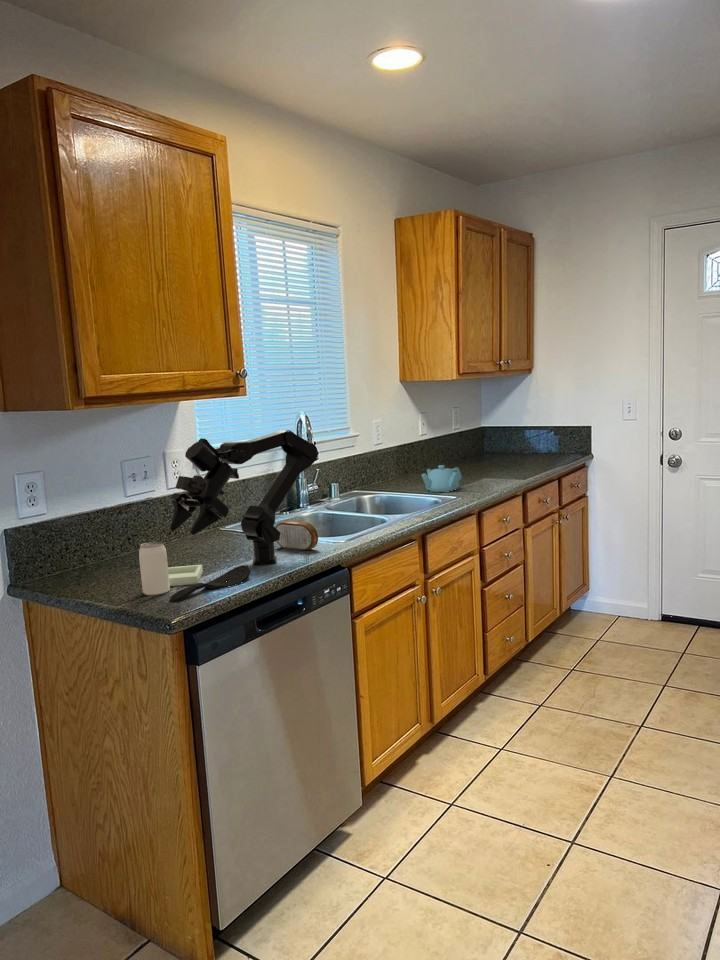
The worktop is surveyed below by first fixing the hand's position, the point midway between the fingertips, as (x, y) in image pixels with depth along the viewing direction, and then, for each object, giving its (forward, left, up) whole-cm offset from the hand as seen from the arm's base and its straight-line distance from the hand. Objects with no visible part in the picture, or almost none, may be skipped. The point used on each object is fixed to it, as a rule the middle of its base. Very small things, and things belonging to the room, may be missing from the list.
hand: (181, 532), depth 186 cm
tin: (-30, +28, -14) cm, 43 cm away
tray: (-5, -3, -13) cm, 15 cm away
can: (+5, -7, -14) cm, 16 cm away
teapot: (-118, +91, -14) cm, 150 cm away
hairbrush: (+6, +7, -14) cm, 17 cm away
